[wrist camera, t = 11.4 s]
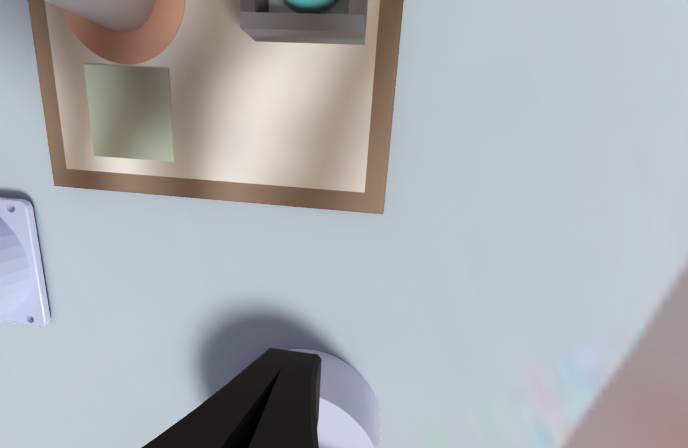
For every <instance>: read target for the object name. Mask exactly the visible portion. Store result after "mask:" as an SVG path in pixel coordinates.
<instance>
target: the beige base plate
mask: <svg viewBox="0 0 688 448" xmlns="http://www.w3.org/2000/svg"><path fill="white" fill-rule="evenodd" d="M403 1H404V0H337V1H336V2H335V4H334V5H333V6H332V7H331V8H329V9H328V10H327V11H325V12H323V13H321V14H311V13H296V12H294V11H293V10H291V9H290V8H289V7H288V6H287V5H286V4H285V3H284V1H283V0H155V3H154V7H153V10H152V13H151V15H150V17H149V18H148V20H147V21H146V22H145V23H144V24H143V25H142V26H141V27H140V28H138V29H136V30H134V31H131V32H125V33H123V32H116V31H113V30H110V29H108V28H106V27H103V26H101V25H99V24H97V23H94V22H92V21H90V20H87V19H85V18H83V17H81V16H78V15H76V14H74V13H72V12H69V11H67V10H65V9H63V8H60V7H58V6H56V5H53V4H51V3H49V2H47V1H44V0H28V3H29V10H30V17H31V24H32V31H33V38H34V45H35V52H36V59H37V66H38V73H39V81H40V88H41V95H42V102H43V109H44V116H45V123H46V130H47V137H48V144H49V151H50V158H51V165H52V173H53V180H54V186H62V187H74V188H86V189H97V190H109V191H120V192H132V193H144V194H155V195H167V196H178V197H190V198H202V199H213V200H225V201H236V202H248V203H259V204H271V205H283V206H294V207H306V208H317V209H329V210H341V211H352V212H364V213H375V214H383V212H384V201H385V191H386V180H387V170H388V159H389V149H390V138H391V127H392V117H393V106H394V96H395V85H396V75H397V64H398V53H399V43H400V32H401V22H402V11H403Z"/></svg>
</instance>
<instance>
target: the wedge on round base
mask: <svg viewBox="0 0 688 448" xmlns="http://www.w3.org/2000/svg"><path fill="white" fill-rule="evenodd" d="M287 350H289V351H297V352H304V353H312V354H318V355H319V357H320V358H321V359H322V362H321V381H320V401H319V420H318V426H317V433H318V444H319V448H381V416H380V408H379V404H378V401H377V398H376V396H375V394H374V392H373V390H372V388H371V387H370V385H369V384H368V382H367V381H366V380H365V379H364V377H363V376H362V375H361V374H360V373H359V372H358V371H357V370H356V369H354V368H353V367H352V366H350V365H349V364H348V363H346V362H344V361H342V360H341V359H339V358H337V357H335V356H332V355H330V354H327V353H324V352H321V351H316V350H310V349H287Z"/></svg>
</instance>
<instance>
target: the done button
mask: <svg viewBox="0 0 688 448" xmlns="http://www.w3.org/2000/svg"><path fill="white" fill-rule="evenodd" d="M283 1H284V3H285V4H286V5H287V6H288V7H289V8H290V9H291V10H293V11H294V12H296V13H311V14H321V13H323V12H325V11H327V10H328V9H329V8H331V7H332V6H333V5H334V4H335V2H336V1H337V0H283Z"/></svg>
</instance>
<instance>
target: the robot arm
mask: <svg viewBox="0 0 688 448" xmlns="http://www.w3.org/2000/svg"><path fill="white" fill-rule="evenodd" d="M0 322H6V323H14V324H21V325H28V326H36V327H43V326H45V325H47V324H48V323H49V322H50V312H49V305H48V299H47V293H46V287H45V280H44V274H43V268H42V261H41V255H40V249H39V243H38V236H37V230H36V224H35V217H34V211H33V207H32V205H31V203H30V202H29V201H27V200H25V199H16V198H5V197H0ZM321 362H322V359H321V358H320V357H319V355H318V354H312V353H304V352H297V351H289V350H281V349H273V348H270V349H269V350H267V351H266V352H265V353H264V354H262V355H261V356H260V357H259V358H258V359H256V360H255V361H254V362H253V363H252V364H250V365H249V366H248V367H247V368H246V369H244V370H243V371H242V372H241V373H240V374H238V375H237V376H236V377H235V378H234V379H232V380H231V381H230V382H229V383H228V384H226V385H225V386H224V387H223V388H221V389H220V390H219V391H218V392H216V393H215V394H214V395H212V396H211V397H210V398H209V399H207V400H206V401H205V402H204V403H202V404H201V405H200V406H199V407H197V408H196V409H195V410H193V411H192V412H191V413H189V414H188V415H187V416H185V417H184V418H182V419H181V420H180V421H178V422H177V423H176V424H174V425H173V426H172V427H170V428H169V429H167V430H166V431H165V432H163V433H162V434H161V435H159V436H158V437H156V438H155V439H154V440H152V441H151V442H149V443H148V444H146V445H145V446H143V447H142V448H319V444H318V433H317V426H318V420H319V401H320V381H321Z"/></svg>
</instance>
